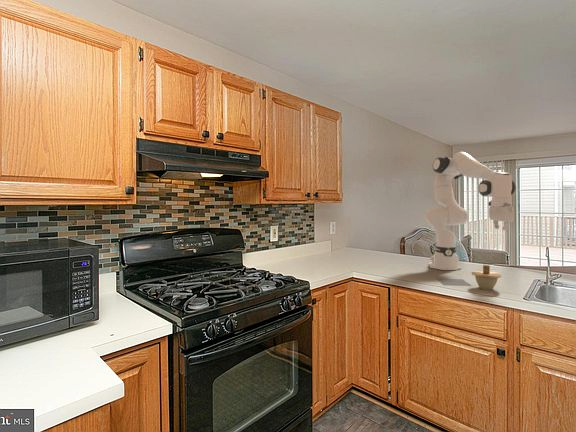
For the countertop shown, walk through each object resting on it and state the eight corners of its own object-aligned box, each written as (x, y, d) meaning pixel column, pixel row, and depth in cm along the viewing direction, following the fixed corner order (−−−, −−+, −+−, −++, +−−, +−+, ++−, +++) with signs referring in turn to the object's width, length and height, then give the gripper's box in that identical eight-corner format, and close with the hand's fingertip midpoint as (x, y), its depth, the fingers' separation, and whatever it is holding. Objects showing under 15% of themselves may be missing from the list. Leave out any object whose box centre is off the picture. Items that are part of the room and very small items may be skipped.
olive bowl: (476, 285, 178) (477, 271, 178) (499, 288, 172) (499, 274, 172) (472, 289, 171) (473, 275, 170) (495, 292, 164) (496, 278, 164)
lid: (467, 271, 178) (467, 262, 178) (494, 272, 176) (494, 263, 176) (477, 277, 166) (477, 268, 165) (506, 278, 164) (506, 268, 163)
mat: (436, 279, 192) (436, 278, 192) (462, 279, 190) (462, 279, 190) (443, 285, 178) (443, 285, 178) (472, 286, 176) (472, 285, 176)
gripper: (518, 203, 167) (517, 231, 168) (499, 202, 188) (498, 227, 188) (504, 203, 168) (503, 231, 169) (486, 202, 188) (486, 227, 189)
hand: (500, 229), depth 179 cm, fingers open, 8 cm apart
